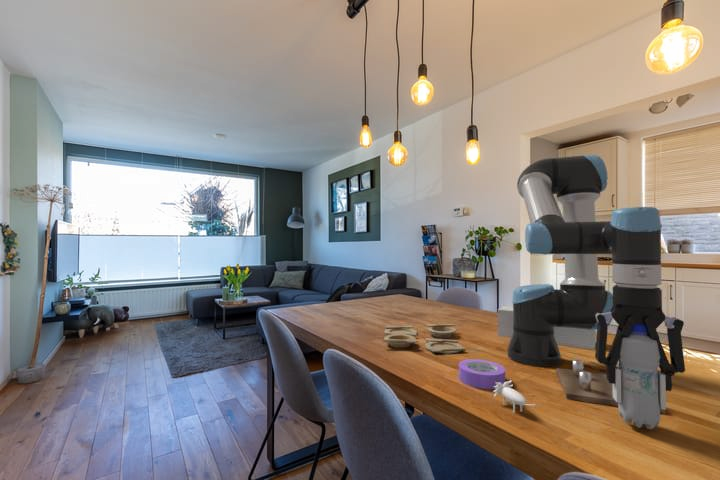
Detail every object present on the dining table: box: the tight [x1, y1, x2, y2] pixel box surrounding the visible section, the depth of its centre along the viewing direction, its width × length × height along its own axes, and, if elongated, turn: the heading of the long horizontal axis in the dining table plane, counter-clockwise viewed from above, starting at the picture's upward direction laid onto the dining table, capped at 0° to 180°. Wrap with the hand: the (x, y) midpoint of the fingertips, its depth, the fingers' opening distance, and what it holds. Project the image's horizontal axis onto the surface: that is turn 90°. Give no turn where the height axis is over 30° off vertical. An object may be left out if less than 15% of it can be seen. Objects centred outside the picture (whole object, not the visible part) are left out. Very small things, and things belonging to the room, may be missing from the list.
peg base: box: [555, 367, 666, 415], centre depth 83 cm, size 18×18×1 cm
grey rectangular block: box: [497, 305, 596, 351], centre depth 130 cm, size 32×11×11 cm, turn 54°
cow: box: [492, 379, 537, 414], centre depth 73 cm, size 12×5×5 cm, turn 13°
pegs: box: [571, 358, 619, 391], centre depth 83 cm, size 11×11×4 cm
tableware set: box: [382, 323, 467, 355], centre depth 128 cm, size 35×29×4 cm
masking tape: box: [458, 358, 506, 390], centre depth 90 cm, size 12×12×4 cm
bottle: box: [617, 323, 661, 430], centre depth 66 cm, size 7×7×20 cm
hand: (638, 402), depth 66 cm, fingers closed on bottle, 6 cm apart
